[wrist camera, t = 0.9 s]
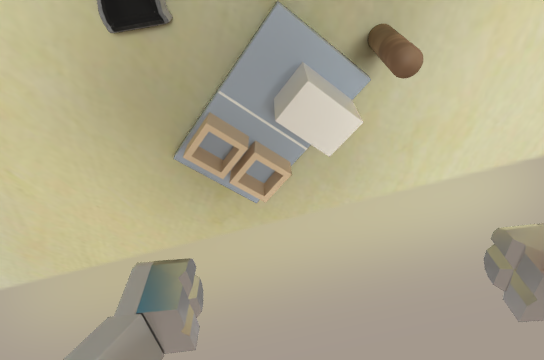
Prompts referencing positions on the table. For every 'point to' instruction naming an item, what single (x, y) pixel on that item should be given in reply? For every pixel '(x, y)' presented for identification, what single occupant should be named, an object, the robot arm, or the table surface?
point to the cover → (316, 110)
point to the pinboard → (262, 108)
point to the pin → (395, 51)
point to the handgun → (132, 14)
